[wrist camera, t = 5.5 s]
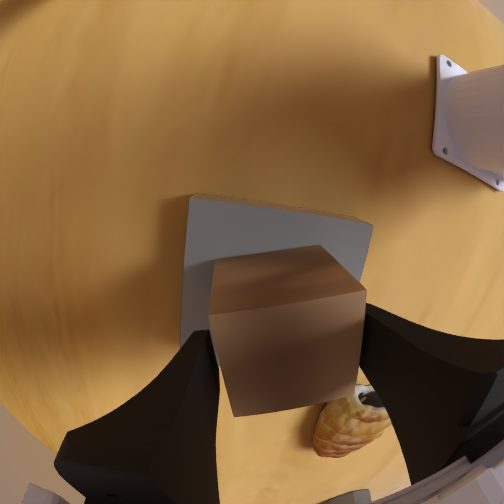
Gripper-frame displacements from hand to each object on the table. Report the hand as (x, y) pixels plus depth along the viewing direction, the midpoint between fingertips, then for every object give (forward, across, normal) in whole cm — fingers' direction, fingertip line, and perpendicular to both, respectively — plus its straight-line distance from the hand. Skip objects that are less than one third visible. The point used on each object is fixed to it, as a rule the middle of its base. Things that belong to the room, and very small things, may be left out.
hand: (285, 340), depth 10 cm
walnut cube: (+3, 0, 0) cm, 4 cm away
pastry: (+6, -6, +14) cm, 17 cm away
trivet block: (+6, 0, 0) cm, 6 cm away
